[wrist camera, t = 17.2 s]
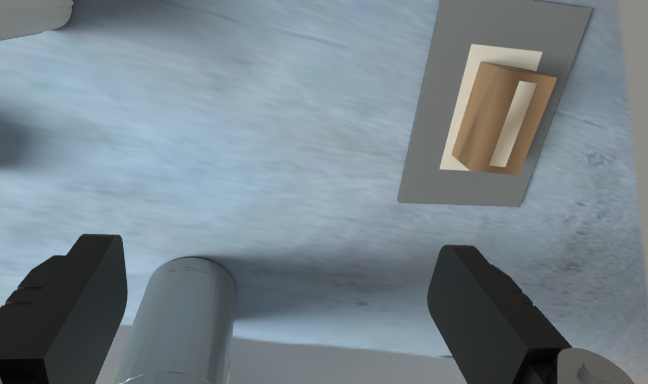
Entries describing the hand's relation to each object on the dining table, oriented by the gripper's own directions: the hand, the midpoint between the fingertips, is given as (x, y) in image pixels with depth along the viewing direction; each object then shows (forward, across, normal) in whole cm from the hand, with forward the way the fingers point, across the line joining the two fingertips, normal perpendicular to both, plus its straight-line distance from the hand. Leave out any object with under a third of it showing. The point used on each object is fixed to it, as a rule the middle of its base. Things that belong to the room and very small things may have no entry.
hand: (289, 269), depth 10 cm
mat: (+28, -21, +1) cm, 35 cm away
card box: (+27, -21, +1) cm, 34 cm away
